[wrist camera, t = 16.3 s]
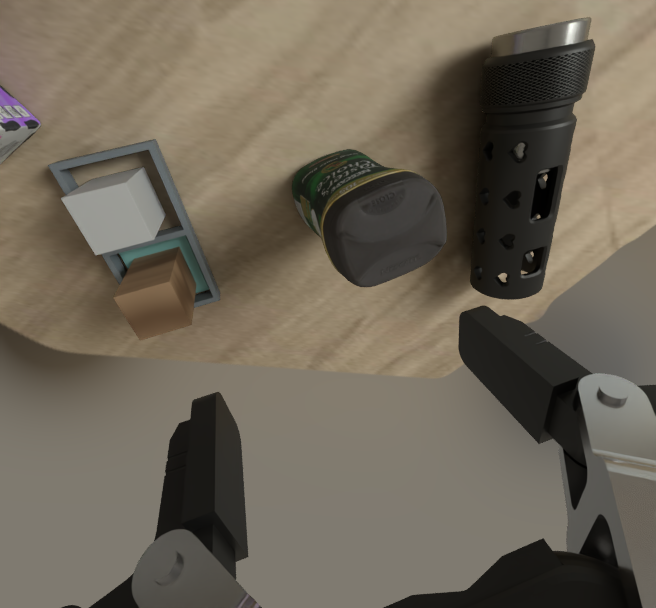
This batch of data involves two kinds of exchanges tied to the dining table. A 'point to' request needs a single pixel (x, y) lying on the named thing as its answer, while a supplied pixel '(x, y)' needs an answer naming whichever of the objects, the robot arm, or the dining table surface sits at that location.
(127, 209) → the divider rack
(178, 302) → the walnut plug
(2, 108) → the candy box
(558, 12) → the dining table surface
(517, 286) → the muzzle brake
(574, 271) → the dining table surface
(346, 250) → the coffee jar
